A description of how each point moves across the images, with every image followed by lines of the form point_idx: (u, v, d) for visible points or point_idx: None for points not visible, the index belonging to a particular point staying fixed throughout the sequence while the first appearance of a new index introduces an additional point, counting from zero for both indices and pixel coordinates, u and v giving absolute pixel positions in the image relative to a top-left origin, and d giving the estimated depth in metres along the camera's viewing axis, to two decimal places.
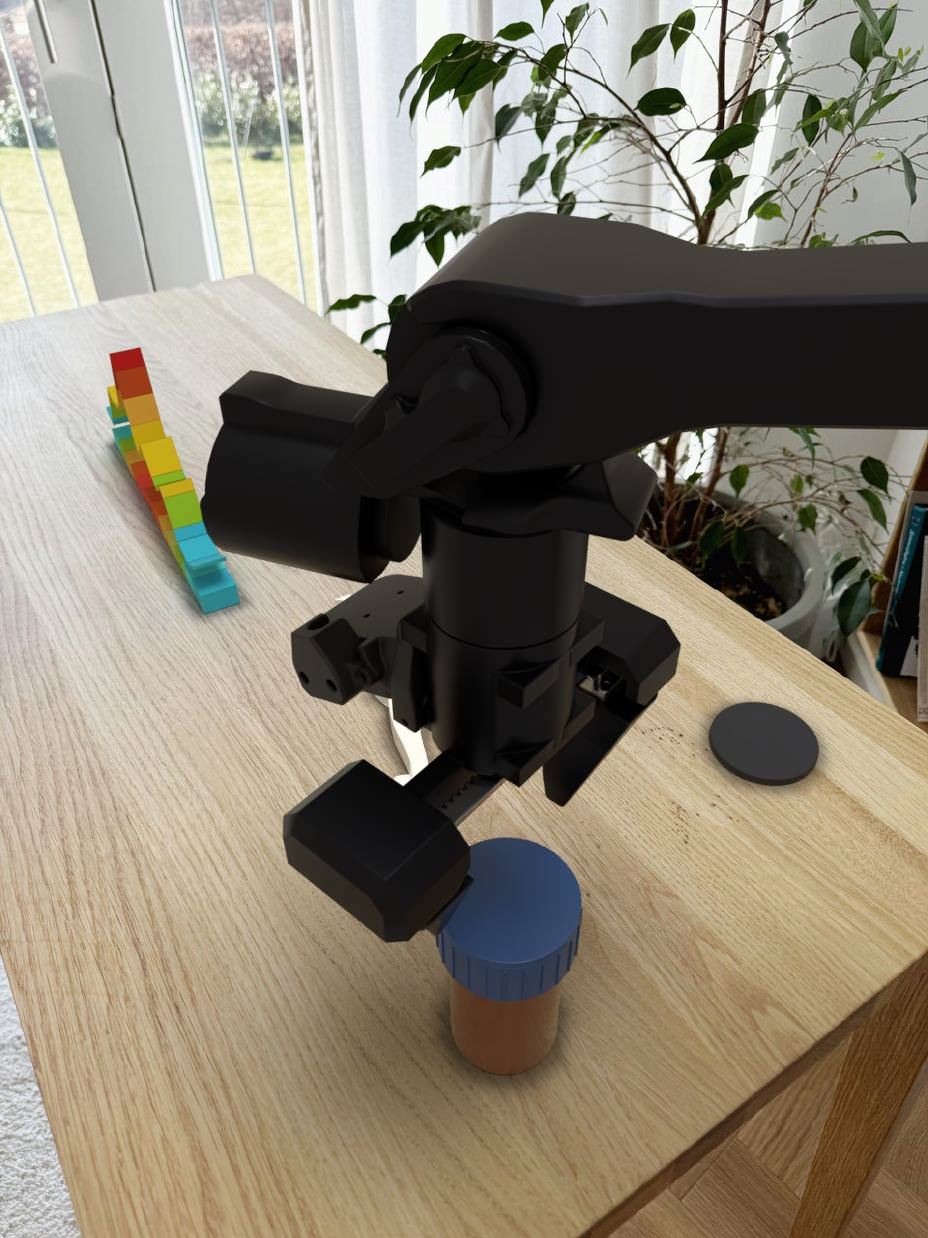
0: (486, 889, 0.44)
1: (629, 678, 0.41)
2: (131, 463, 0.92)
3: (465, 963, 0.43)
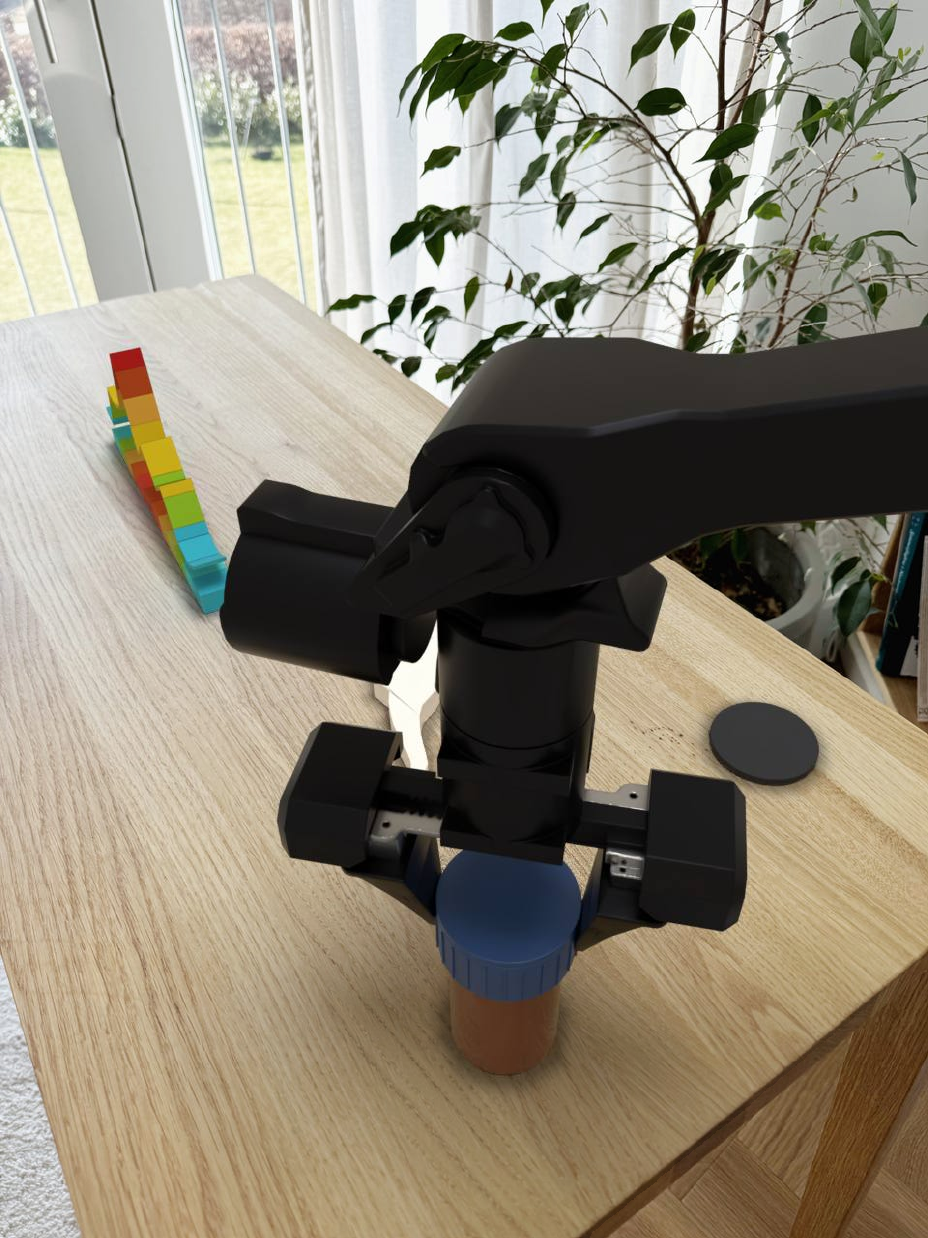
0: (486, 889, 0.44)
1: (642, 878, 0.37)
2: (131, 463, 0.92)
3: (465, 963, 0.43)
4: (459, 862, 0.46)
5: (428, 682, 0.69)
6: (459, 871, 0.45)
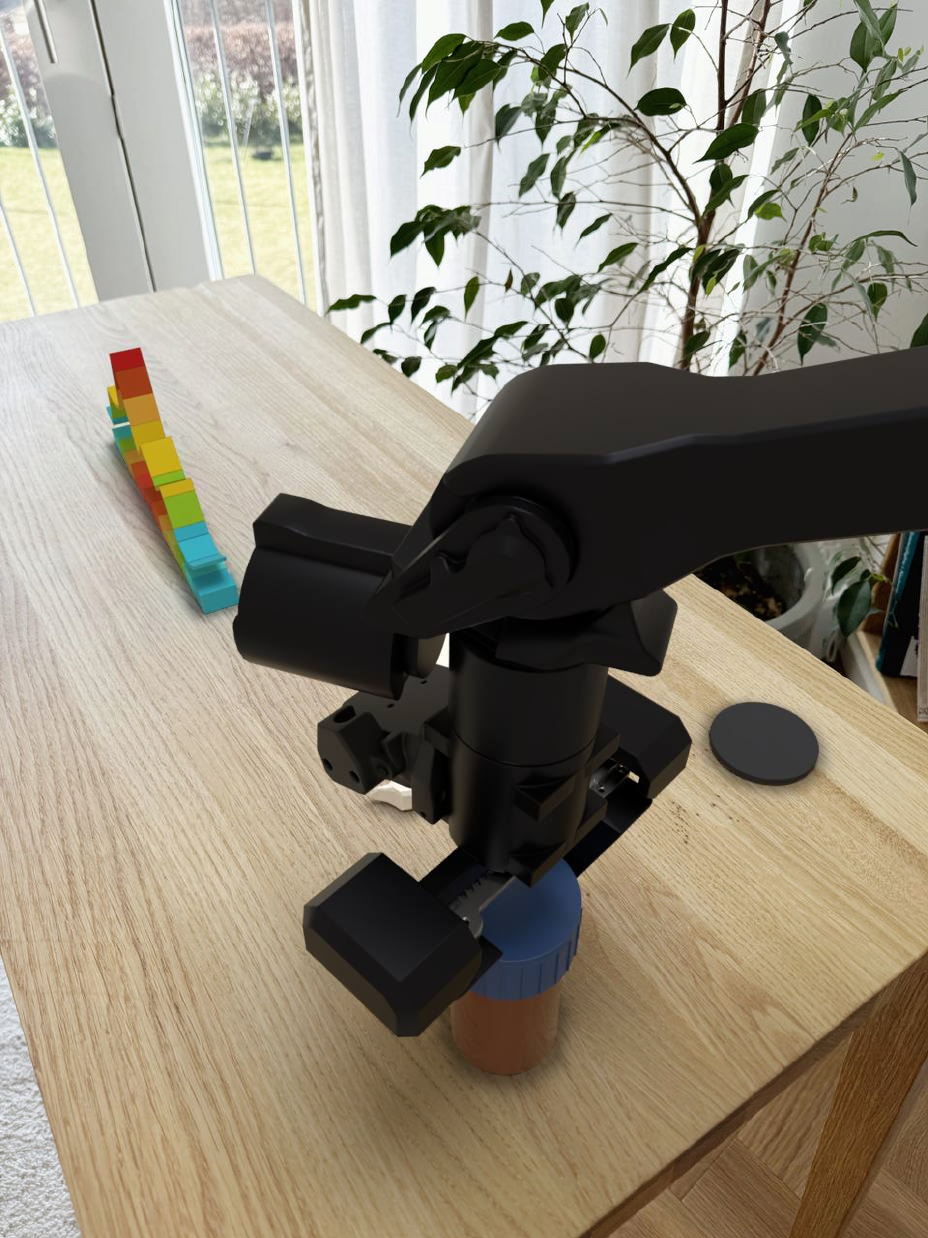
0: (489, 907, 0.44)
1: (640, 775, 0.42)
2: (131, 463, 0.92)
3: (541, 968, 0.42)
4: None
5: None
6: None
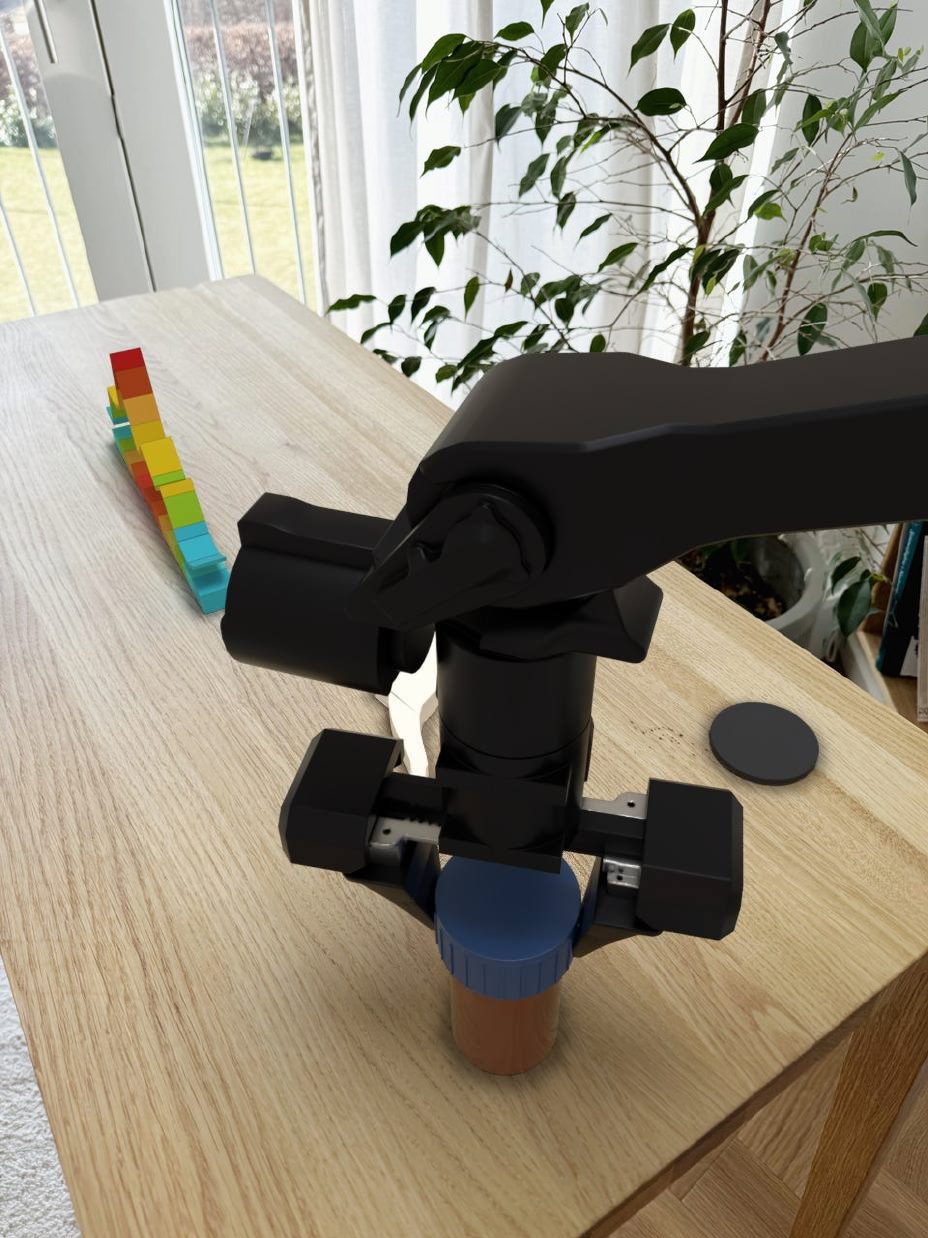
0: (488, 906, 0.43)
1: (638, 887, 0.37)
2: (131, 463, 0.92)
3: (541, 967, 0.42)
4: (446, 912, 0.43)
5: (428, 682, 0.69)
6: (456, 917, 0.43)
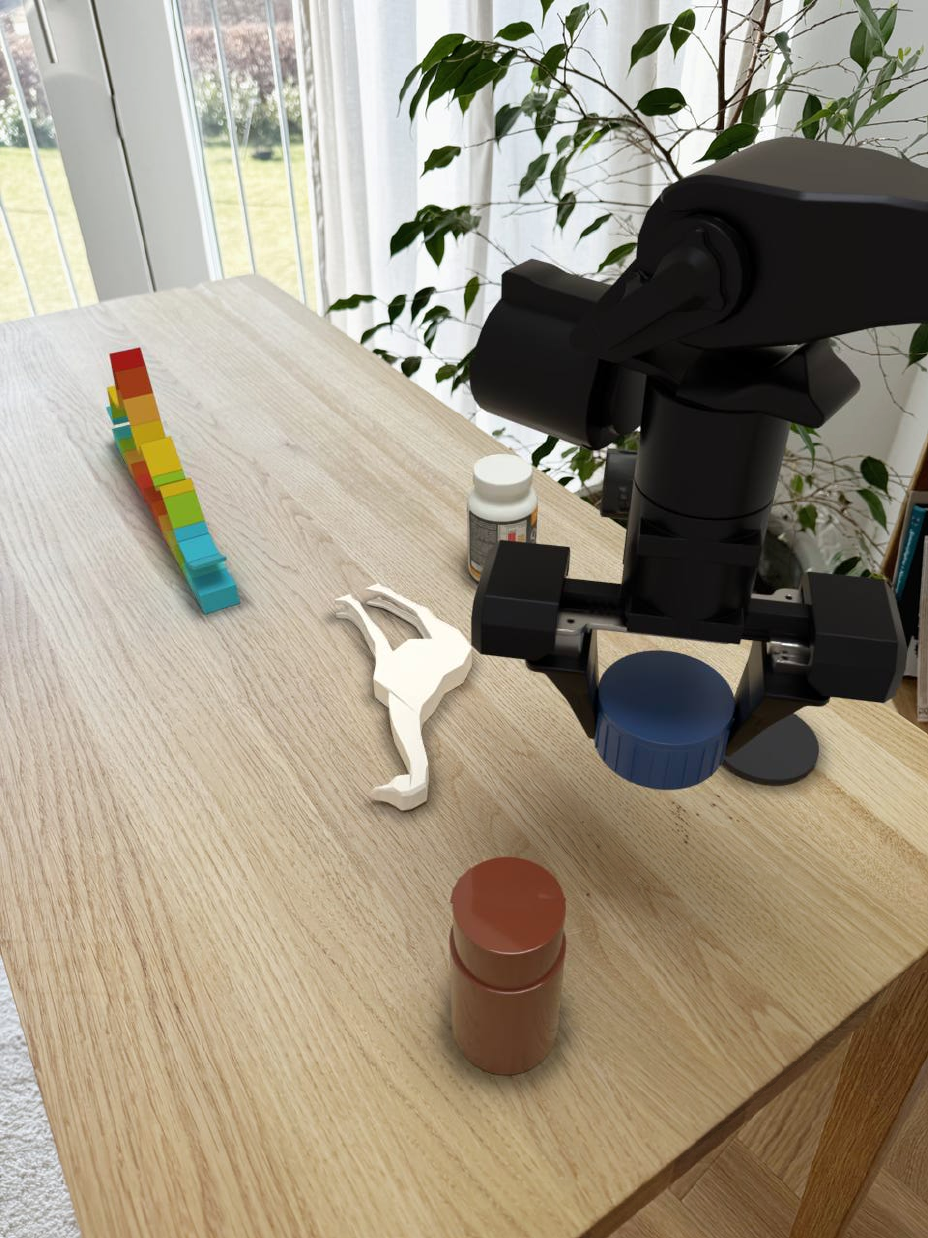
0: (650, 704, 0.47)
1: (811, 654, 0.41)
2: (131, 463, 0.92)
3: (704, 753, 0.46)
4: (612, 709, 0.47)
5: (428, 682, 0.69)
6: (622, 713, 0.47)
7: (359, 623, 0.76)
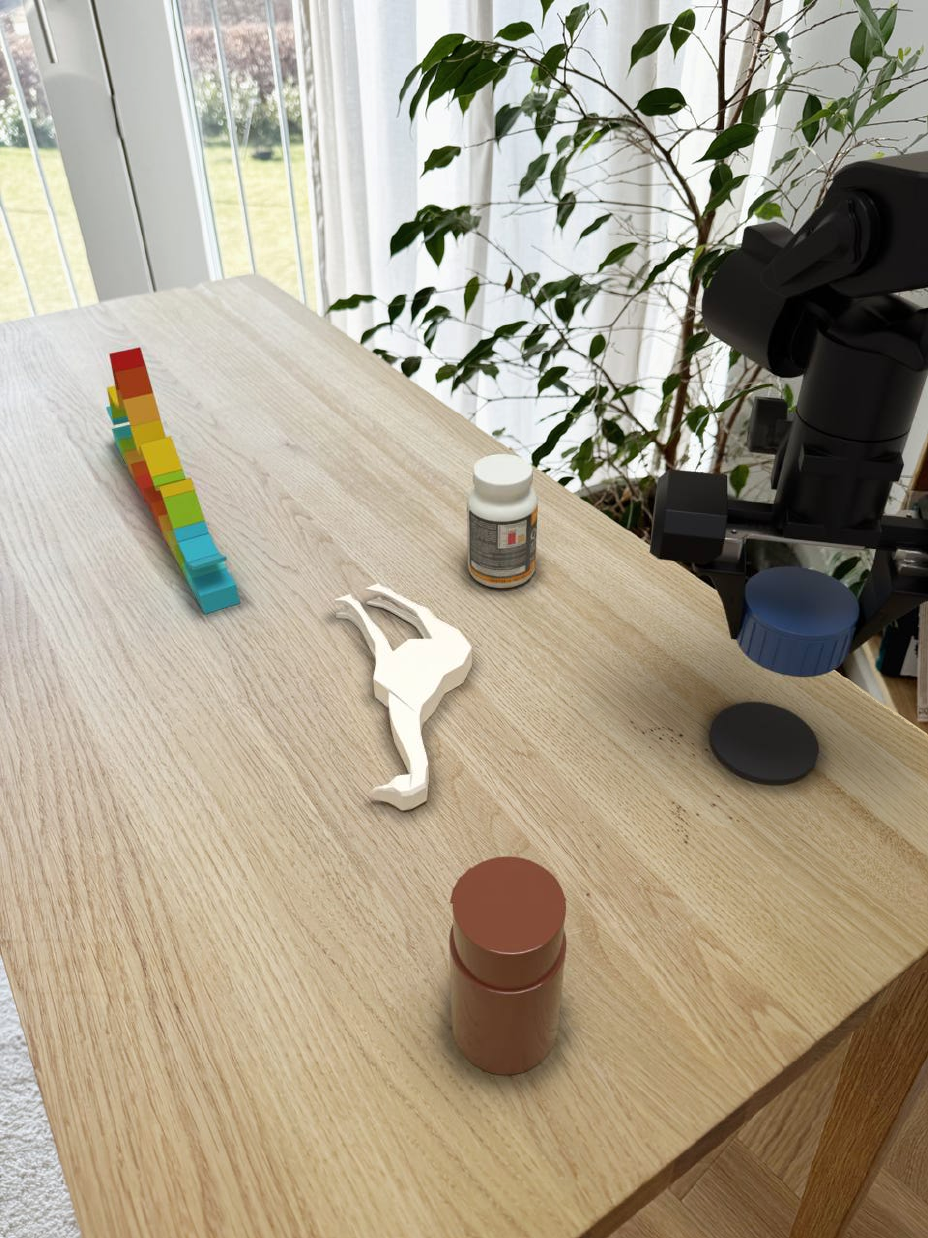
0: (789, 606, 0.57)
1: None
2: (131, 463, 0.92)
3: (836, 645, 0.56)
4: (759, 610, 0.57)
5: (428, 682, 0.69)
6: (767, 612, 0.57)
7: (359, 623, 0.76)
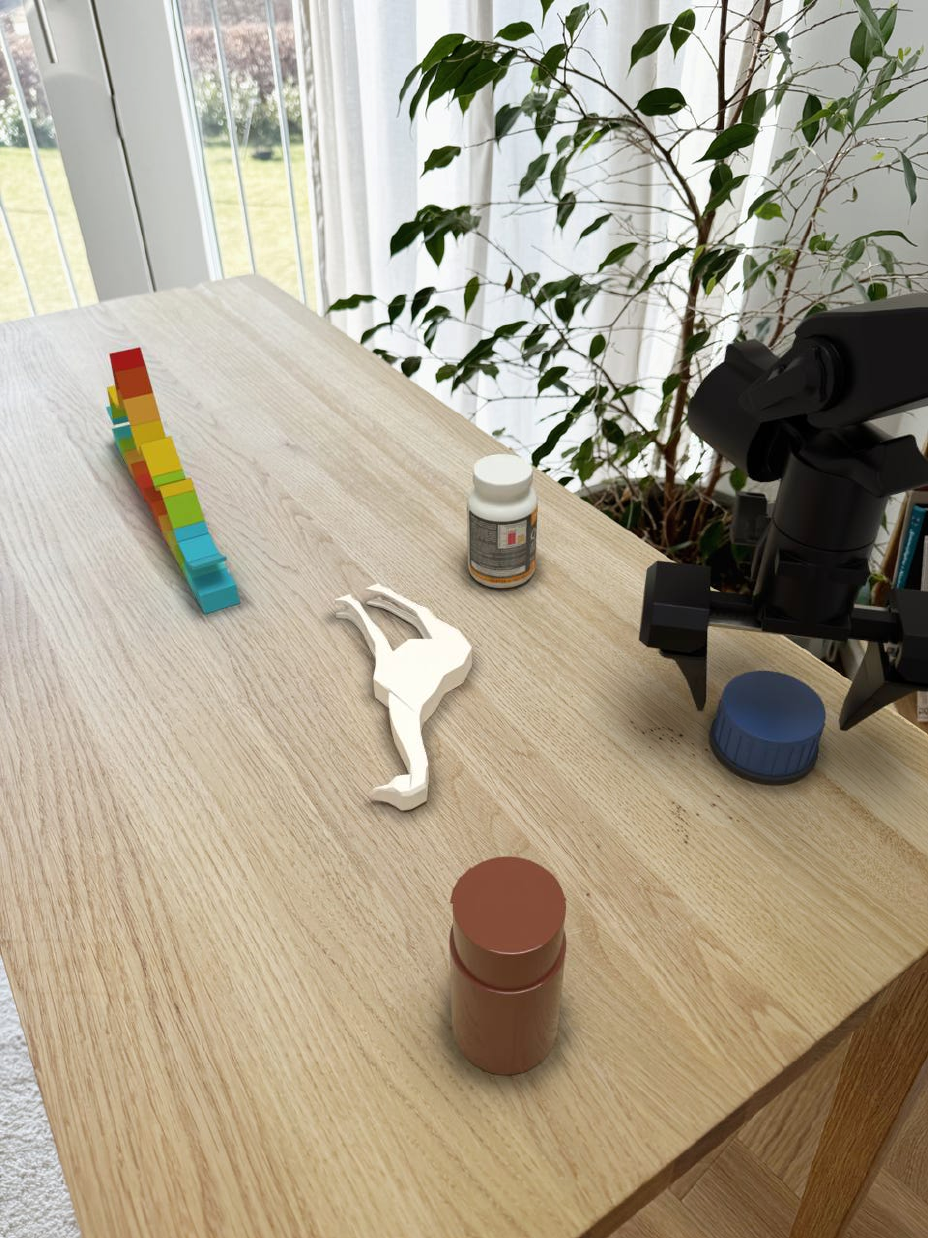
0: (762, 711, 0.63)
1: (900, 649, 0.56)
2: (131, 463, 0.92)
3: (804, 749, 0.62)
4: (734, 715, 0.63)
5: (428, 683, 0.69)
6: (742, 718, 0.63)
7: (359, 623, 0.76)
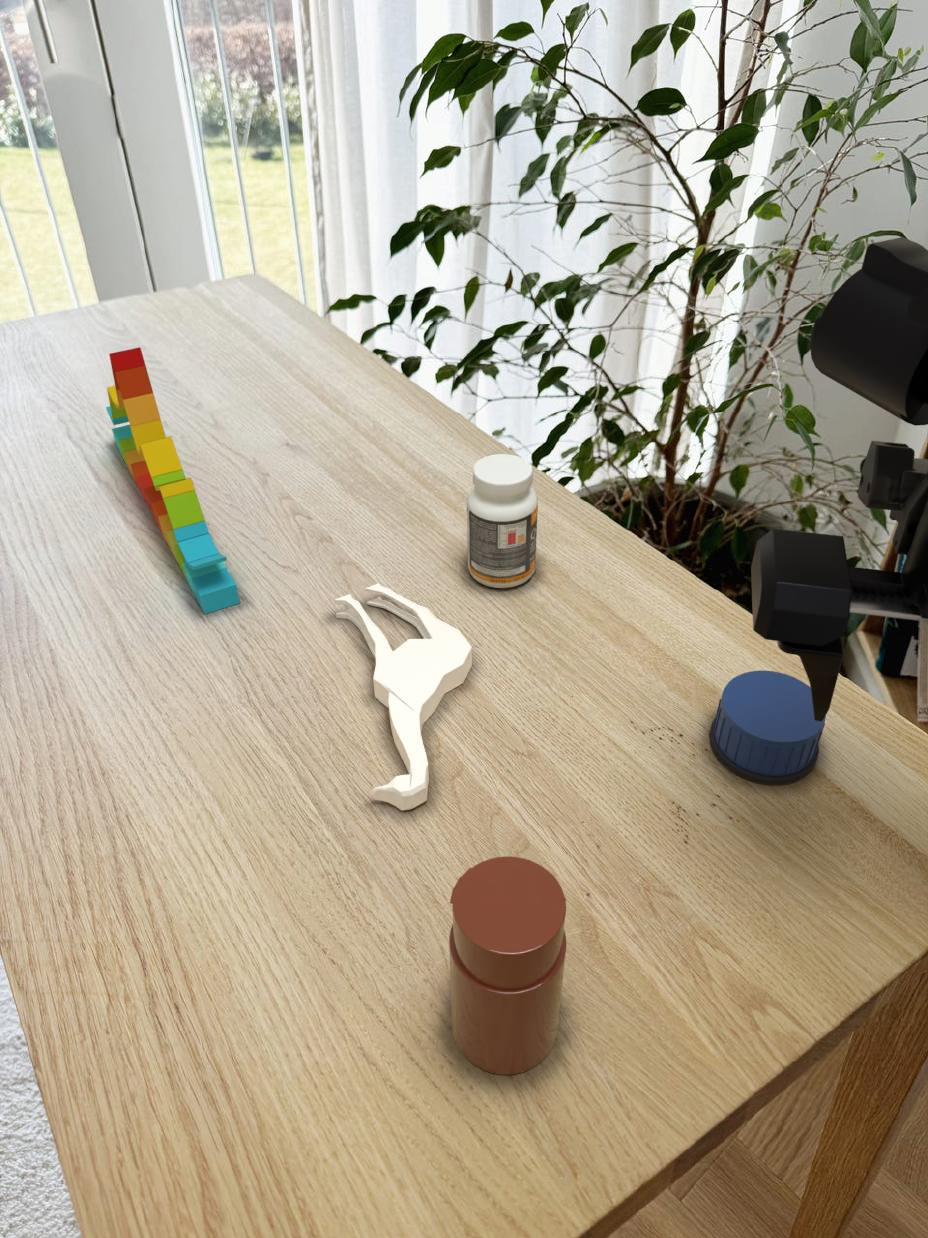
0: (762, 711, 0.63)
1: None
2: (131, 463, 0.92)
3: (804, 749, 0.62)
4: (734, 715, 0.63)
5: (428, 682, 0.69)
6: (742, 718, 0.63)
7: (359, 623, 0.76)
